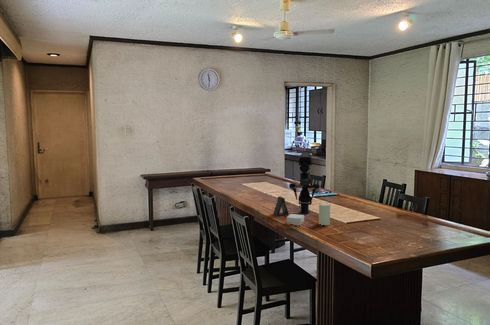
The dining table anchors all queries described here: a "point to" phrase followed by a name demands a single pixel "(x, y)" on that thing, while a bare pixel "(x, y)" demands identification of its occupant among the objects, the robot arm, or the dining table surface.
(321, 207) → the pillar
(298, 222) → the base slab
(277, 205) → the phone stand
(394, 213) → the dining table surface
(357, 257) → the dining table surface
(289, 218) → the top slab
